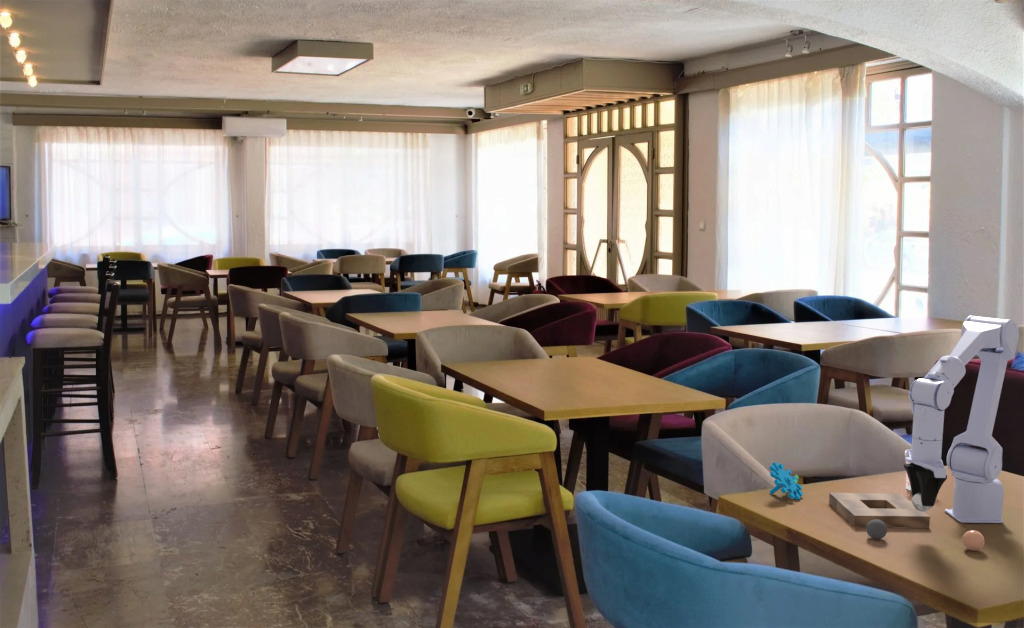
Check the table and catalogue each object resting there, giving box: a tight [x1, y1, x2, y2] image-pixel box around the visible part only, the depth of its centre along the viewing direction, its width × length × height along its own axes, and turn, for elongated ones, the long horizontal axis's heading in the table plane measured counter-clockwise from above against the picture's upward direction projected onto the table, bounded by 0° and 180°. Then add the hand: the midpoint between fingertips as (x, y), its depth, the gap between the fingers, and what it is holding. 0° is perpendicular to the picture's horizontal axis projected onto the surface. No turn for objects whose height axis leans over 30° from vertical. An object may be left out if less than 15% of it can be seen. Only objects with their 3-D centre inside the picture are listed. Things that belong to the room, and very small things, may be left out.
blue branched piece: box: [768, 461, 804, 501], centre depth 229 cm, size 11×6×10 cm
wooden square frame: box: [828, 492, 931, 529], centre depth 216 cm, size 16×16×2 cm
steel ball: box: [911, 492, 933, 513], centre depth 202 cm, size 4×4×4 cm
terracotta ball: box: [961, 529, 985, 552], centre depth 195 cm, size 4×4×4 cm
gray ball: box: [865, 519, 888, 540], centre depth 201 cm, size 4×4×4 cm
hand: (922, 502), depth 202 cm, fingers closed on steel ball, 4 cm apart
